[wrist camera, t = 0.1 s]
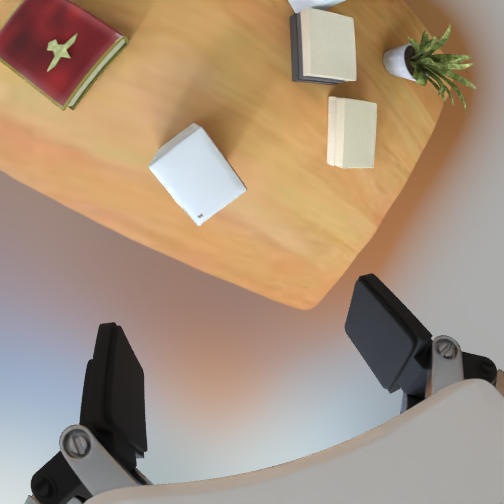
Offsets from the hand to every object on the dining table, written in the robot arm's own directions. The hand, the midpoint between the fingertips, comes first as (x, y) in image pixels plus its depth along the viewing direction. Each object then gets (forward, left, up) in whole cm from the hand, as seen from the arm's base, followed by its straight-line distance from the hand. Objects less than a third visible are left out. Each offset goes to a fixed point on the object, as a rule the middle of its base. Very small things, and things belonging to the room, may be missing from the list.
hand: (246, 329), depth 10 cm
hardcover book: (-23, -19, -31) cm, 43 cm away
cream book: (-17, +18, -27) cm, 36 cm away
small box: (-1, 0, -31) cm, 31 cm away
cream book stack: (-4, +24, -31) cm, 40 cm away
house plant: (-17, +35, -31) cm, 50 cm away
